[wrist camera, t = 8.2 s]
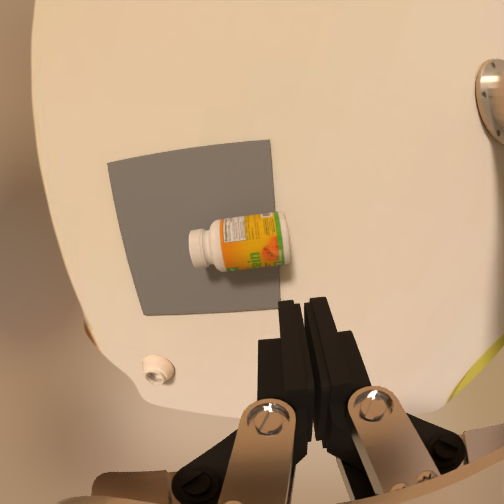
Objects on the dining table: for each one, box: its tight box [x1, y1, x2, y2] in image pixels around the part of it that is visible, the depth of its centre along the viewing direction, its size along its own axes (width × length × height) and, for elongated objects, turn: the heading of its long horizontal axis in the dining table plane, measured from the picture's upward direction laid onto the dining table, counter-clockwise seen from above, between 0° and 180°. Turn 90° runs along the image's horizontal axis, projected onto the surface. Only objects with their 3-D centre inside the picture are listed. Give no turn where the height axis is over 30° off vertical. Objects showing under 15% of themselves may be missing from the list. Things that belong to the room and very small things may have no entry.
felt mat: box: [107, 140, 280, 315], centre depth 33 cm, size 18×20×1 cm
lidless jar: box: [142, 355, 174, 385], centre depth 41 cm, size 5×3×5 cm
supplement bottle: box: [189, 212, 291, 272], centre depth 31 cm, size 5×5×10 cm
